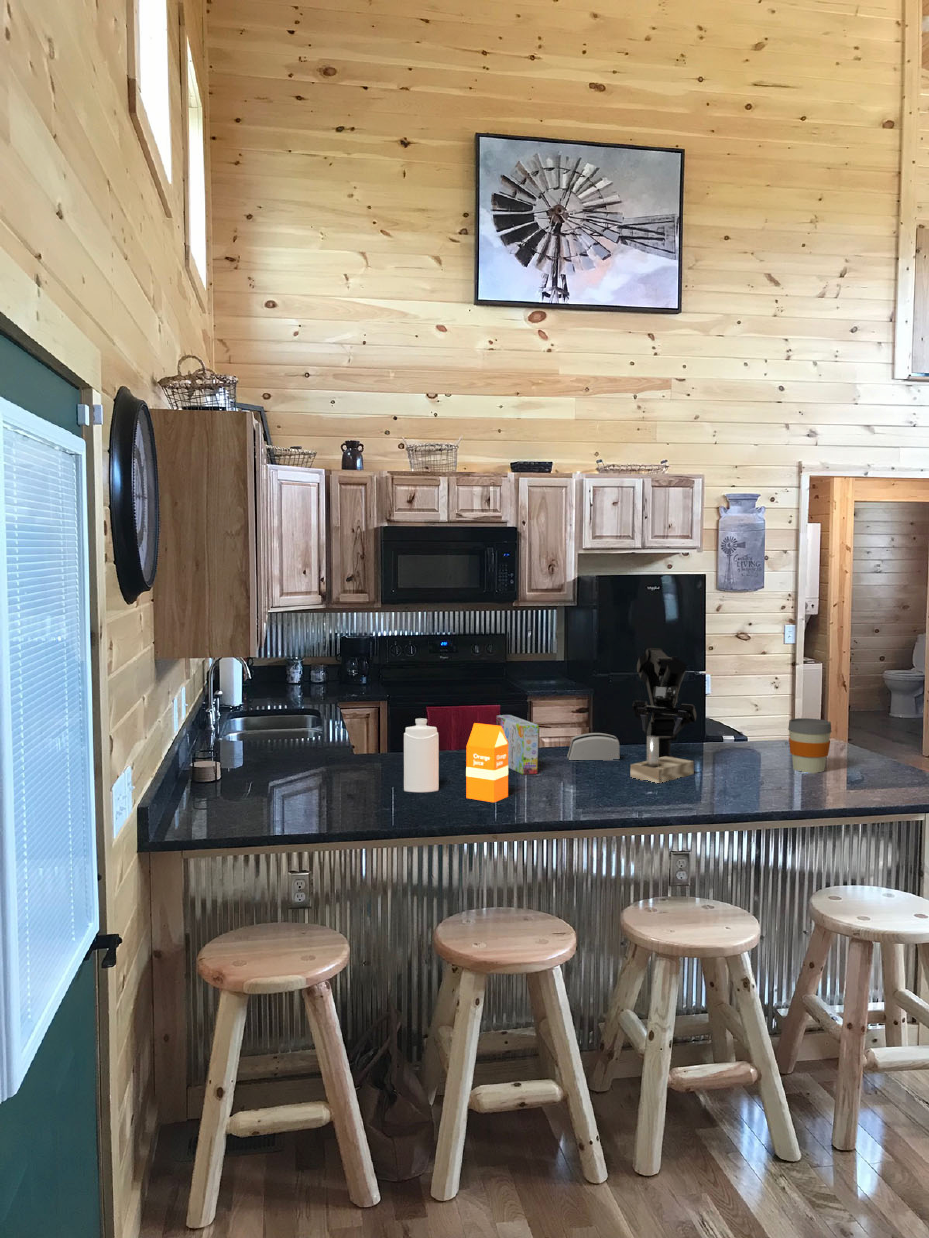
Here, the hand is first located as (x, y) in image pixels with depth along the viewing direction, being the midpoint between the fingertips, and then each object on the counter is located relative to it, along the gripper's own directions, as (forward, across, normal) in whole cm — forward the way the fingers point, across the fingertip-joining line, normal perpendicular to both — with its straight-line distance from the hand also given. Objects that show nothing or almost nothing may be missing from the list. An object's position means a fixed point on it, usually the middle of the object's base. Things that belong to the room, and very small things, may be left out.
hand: (658, 733), depth 295 cm
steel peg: (+13, 0, +4) cm, 14 cm away
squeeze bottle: (+44, -54, -27) cm, 74 cm away
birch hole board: (+10, +2, +7) cm, 13 cm away
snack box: (+17, -42, +1) cm, 45 cm away
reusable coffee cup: (-10, +40, +28) cm, 50 cm away
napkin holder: (+1, -24, +17) cm, 29 cm away
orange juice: (+43, -34, -26) cm, 61 cm away
